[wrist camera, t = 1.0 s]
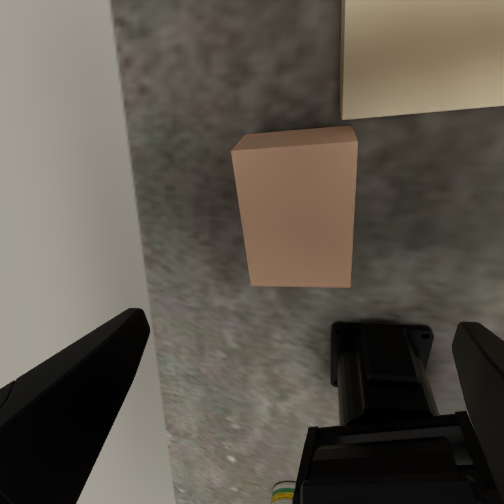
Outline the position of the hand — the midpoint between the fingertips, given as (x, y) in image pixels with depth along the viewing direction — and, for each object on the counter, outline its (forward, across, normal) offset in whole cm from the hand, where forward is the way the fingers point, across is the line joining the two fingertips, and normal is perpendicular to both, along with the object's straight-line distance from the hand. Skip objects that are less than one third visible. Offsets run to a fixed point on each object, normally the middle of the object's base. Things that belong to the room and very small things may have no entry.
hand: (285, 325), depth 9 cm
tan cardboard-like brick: (+10, 0, 0) cm, 11 cm away
